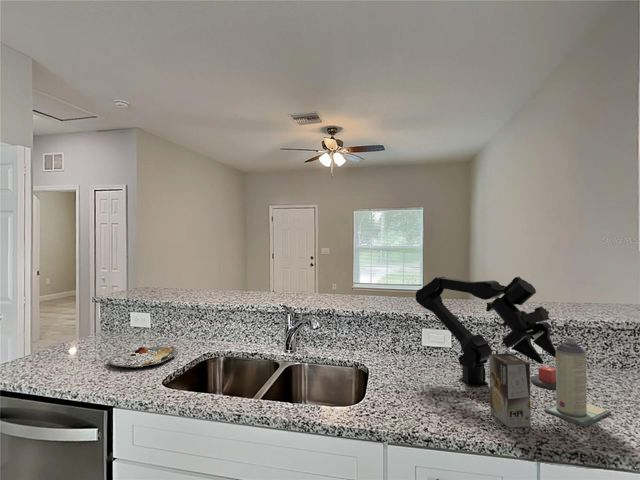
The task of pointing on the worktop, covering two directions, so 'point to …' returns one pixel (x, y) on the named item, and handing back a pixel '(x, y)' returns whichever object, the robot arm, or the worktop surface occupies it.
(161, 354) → the food plate
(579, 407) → the aerosol can
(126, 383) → the worktop surface
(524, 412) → the coffee box
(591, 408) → the game board
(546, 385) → the red die on its tray
